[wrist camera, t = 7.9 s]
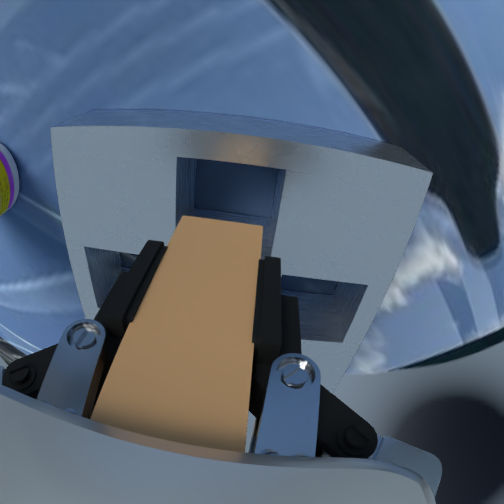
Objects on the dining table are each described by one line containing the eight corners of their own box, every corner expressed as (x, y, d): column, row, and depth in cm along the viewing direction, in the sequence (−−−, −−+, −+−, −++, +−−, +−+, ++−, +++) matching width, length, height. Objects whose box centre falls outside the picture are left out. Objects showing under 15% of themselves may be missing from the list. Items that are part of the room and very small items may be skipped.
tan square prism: (182, 215, 13) (72, 469, 4) (263, 226, 13) (239, 508, 4) (182, 277, 14) (112, 499, 6) (252, 288, 14) (228, 524, 6)
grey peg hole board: (93, 109, 18) (2, 150, 10) (399, 146, 18) (471, 207, 11) (119, 325, 29) (86, 401, 21) (324, 354, 29) (333, 437, 22)
